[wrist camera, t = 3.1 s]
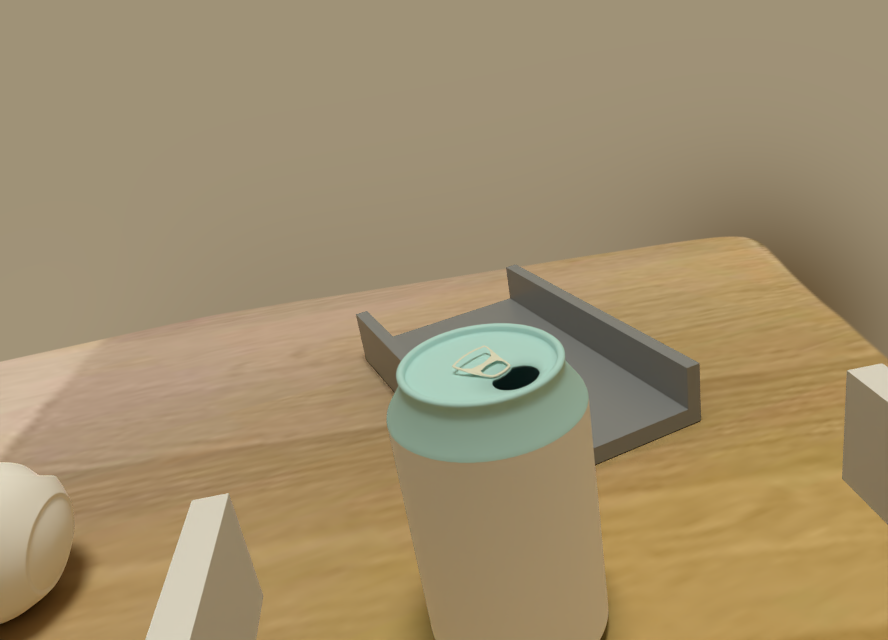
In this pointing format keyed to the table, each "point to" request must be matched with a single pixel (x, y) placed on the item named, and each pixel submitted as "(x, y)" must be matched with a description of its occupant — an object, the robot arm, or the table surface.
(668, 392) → the duct channel
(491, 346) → the can
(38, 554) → the cream rounded lump
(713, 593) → the table surface
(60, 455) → the table surface
